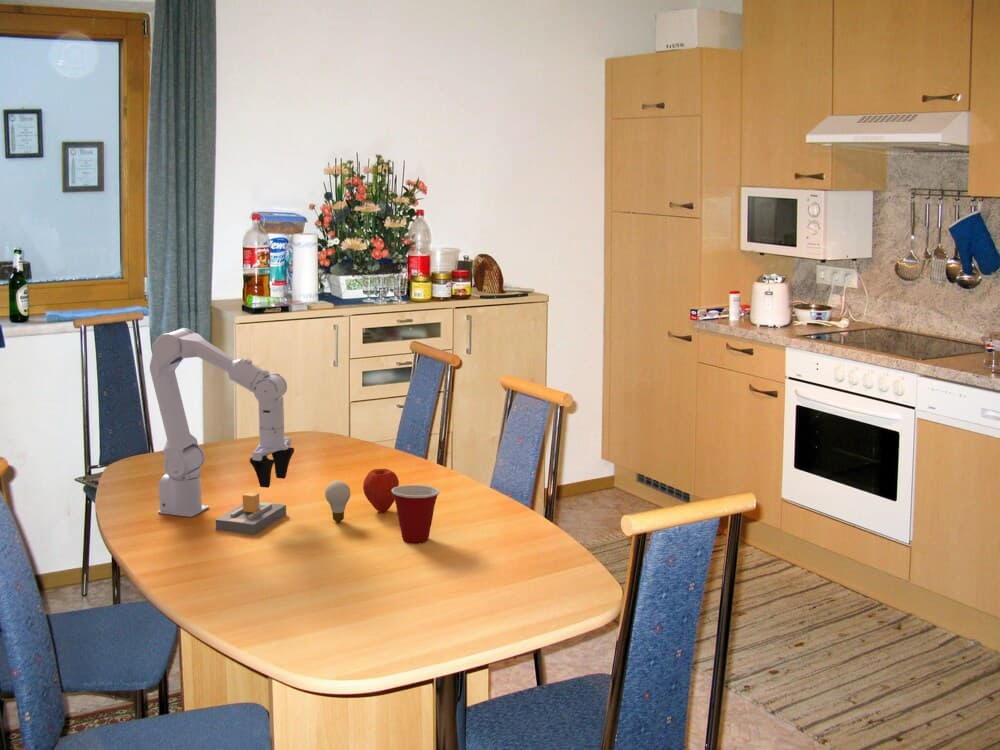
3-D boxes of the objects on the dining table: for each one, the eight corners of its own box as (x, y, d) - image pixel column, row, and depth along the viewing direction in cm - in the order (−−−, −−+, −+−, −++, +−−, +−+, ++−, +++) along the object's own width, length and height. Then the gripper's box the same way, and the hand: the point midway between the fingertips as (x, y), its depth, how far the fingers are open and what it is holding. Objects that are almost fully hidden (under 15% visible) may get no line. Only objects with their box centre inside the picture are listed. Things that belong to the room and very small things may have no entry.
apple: (357, 514, 269) (356, 471, 266) (374, 504, 276) (373, 462, 274) (389, 519, 265) (388, 475, 263) (405, 508, 273) (405, 466, 271)
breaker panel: (215, 529, 257) (215, 516, 256) (249, 510, 271) (249, 497, 270) (254, 534, 254) (253, 521, 253) (286, 514, 268) (285, 501, 267)
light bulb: (346, 526, 260) (345, 485, 258) (322, 525, 261) (321, 484, 259) (354, 518, 265) (353, 478, 263) (330, 517, 266) (329, 476, 264)
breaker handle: (243, 511, 261) (242, 494, 260) (248, 508, 263) (247, 492, 262) (254, 512, 260) (253, 496, 259) (259, 509, 262) (259, 493, 261)
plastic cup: (447, 534, 255) (447, 484, 253) (428, 550, 245) (428, 498, 243) (403, 529, 258) (403, 479, 256) (383, 544, 248) (383, 492, 246)
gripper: (271, 435, 253) (272, 492, 255) (301, 421, 266) (302, 475, 269) (243, 432, 255) (245, 489, 258) (275, 418, 268) (276, 472, 271)
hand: (273, 482), depth 263 cm, fingers open, 7 cm apart
